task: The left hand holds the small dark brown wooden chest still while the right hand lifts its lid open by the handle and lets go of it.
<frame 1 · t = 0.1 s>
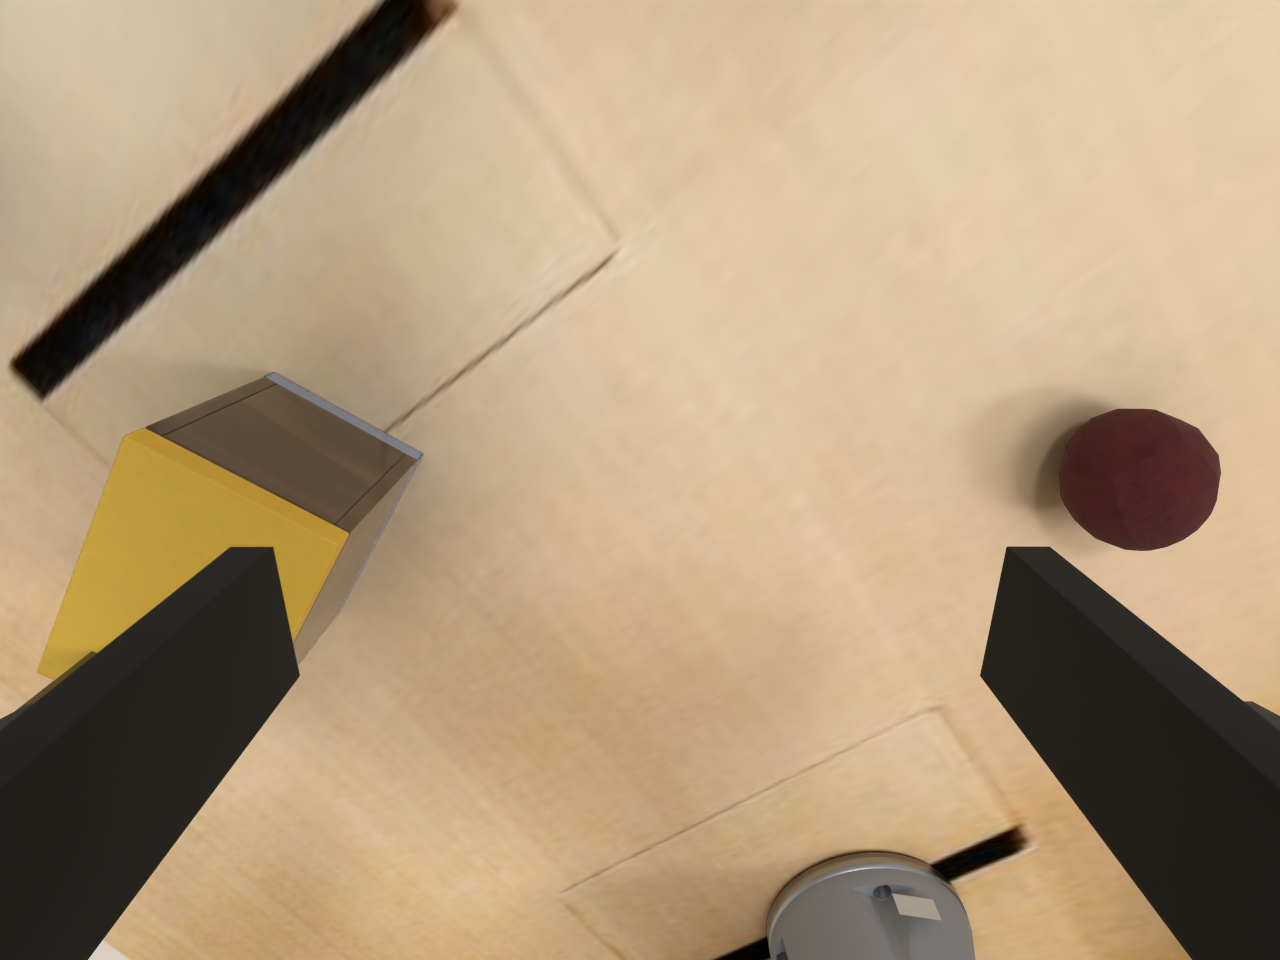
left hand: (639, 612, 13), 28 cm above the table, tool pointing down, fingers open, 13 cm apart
lid: (135, 650, 28), point 15 cm above the table, hinge at 0.0°
chest: (308, 500, 42), on the table
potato: (1094, 455, 41), on the table
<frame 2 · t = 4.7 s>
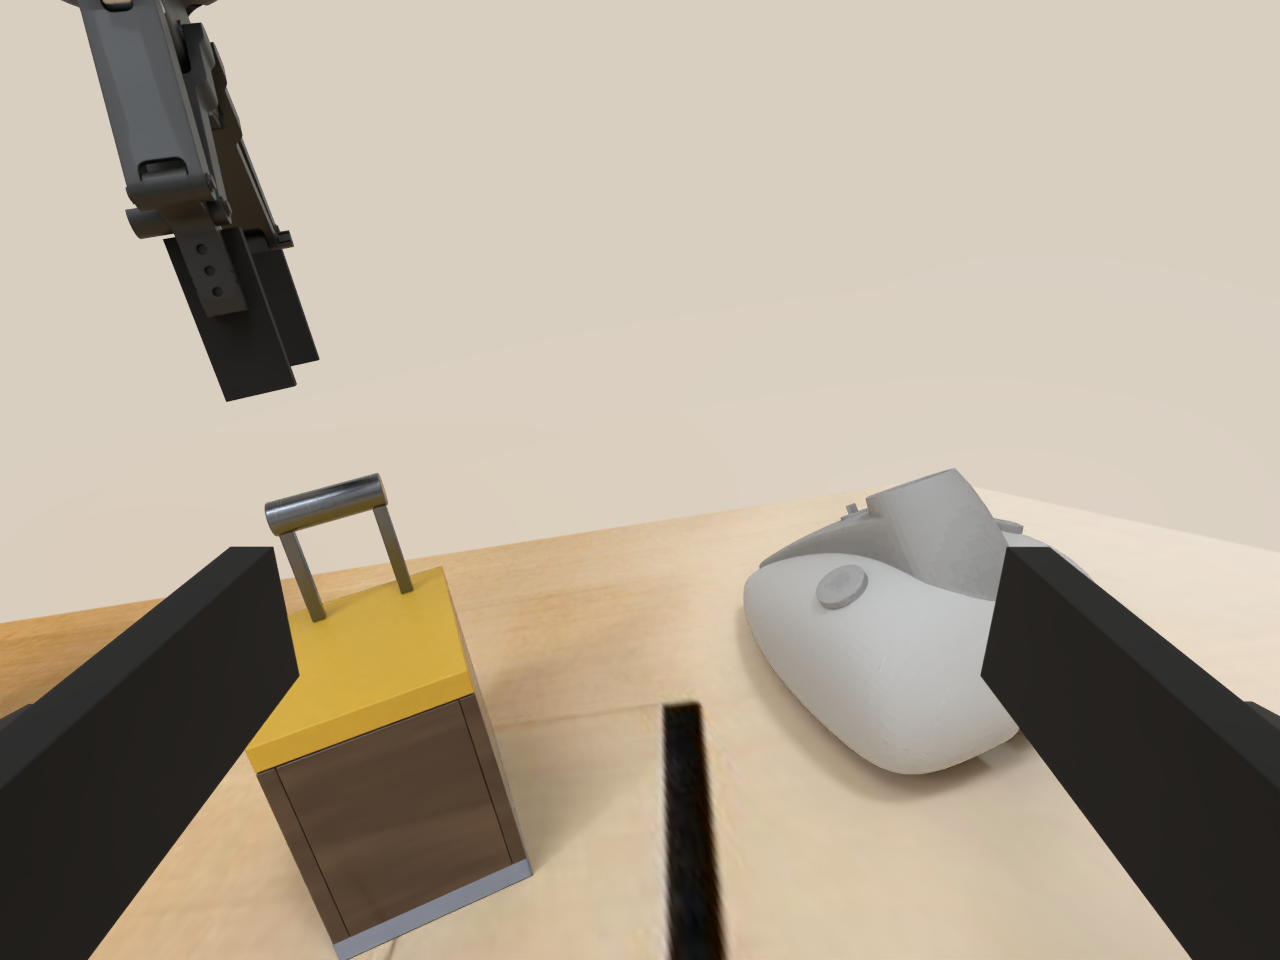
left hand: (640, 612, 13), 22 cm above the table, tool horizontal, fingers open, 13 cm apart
projector: (879, 668, 45), on the table
lid: (344, 588, 35), point 15 cm above the table, hinge at 0.0°
chest: (430, 826, 39), on the table
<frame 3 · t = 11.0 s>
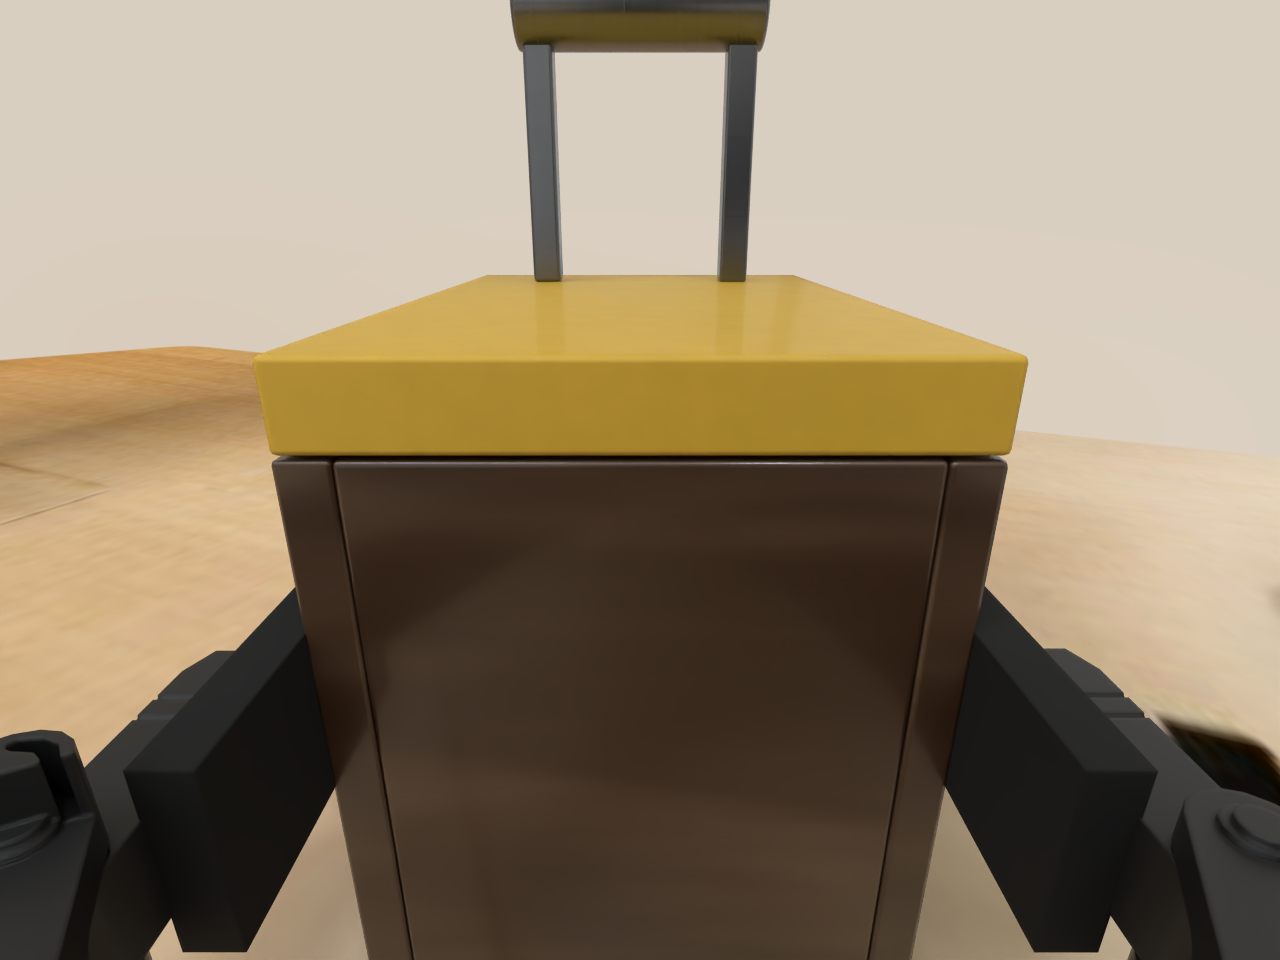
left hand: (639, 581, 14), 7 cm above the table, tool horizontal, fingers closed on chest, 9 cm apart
lid: (640, 140, 13), point 15 cm above the table, hinge at 0.0°
chest: (640, 773, 18), on the table, touching left hand
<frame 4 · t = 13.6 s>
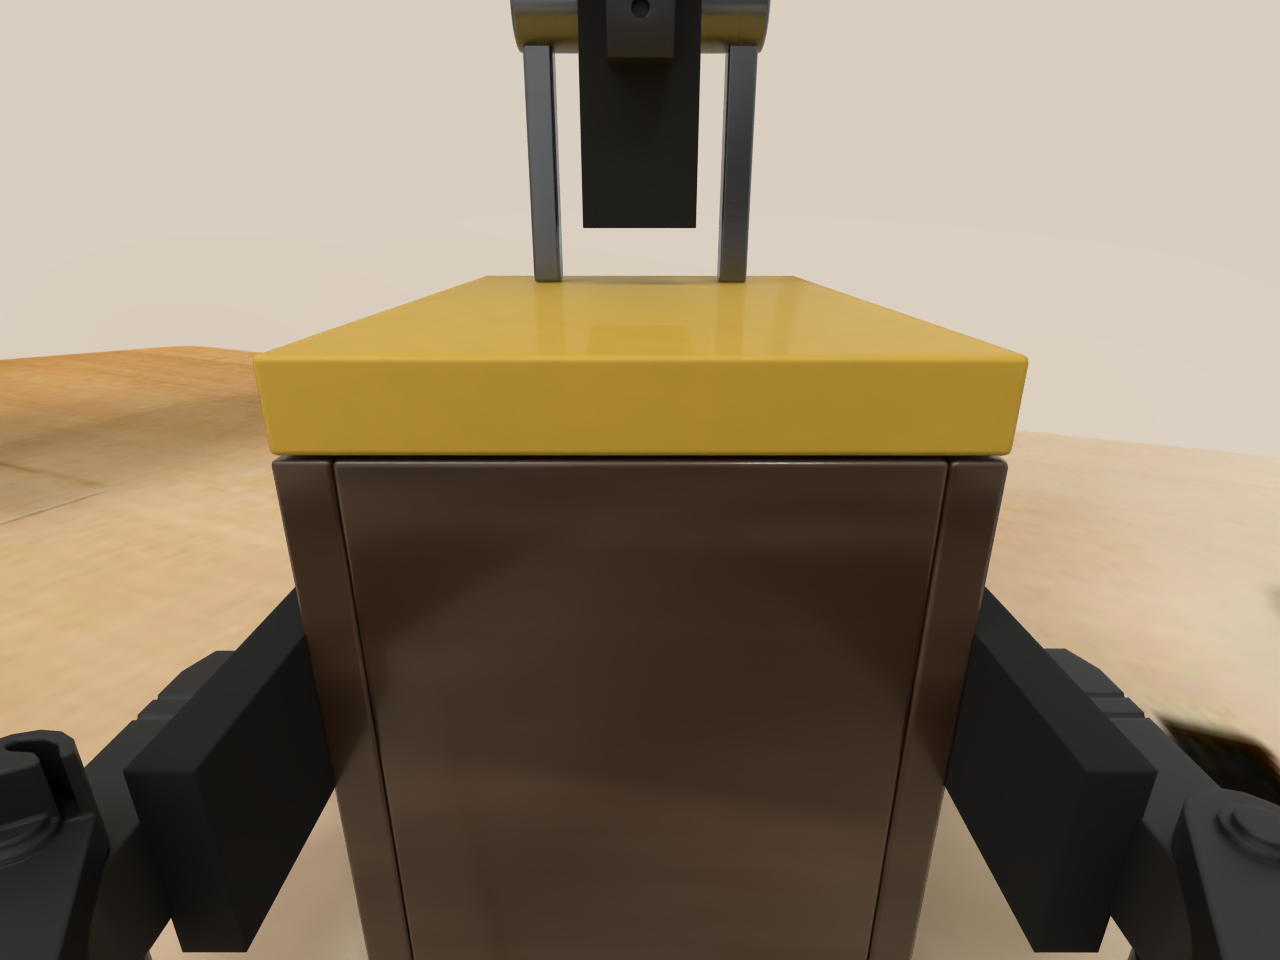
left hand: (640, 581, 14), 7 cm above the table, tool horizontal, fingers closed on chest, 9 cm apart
lid: (640, 140, 13), point 15 cm above the table, hinge at -0.1°, touching right hand
chest: (640, 773, 18), on the table, touching left hand
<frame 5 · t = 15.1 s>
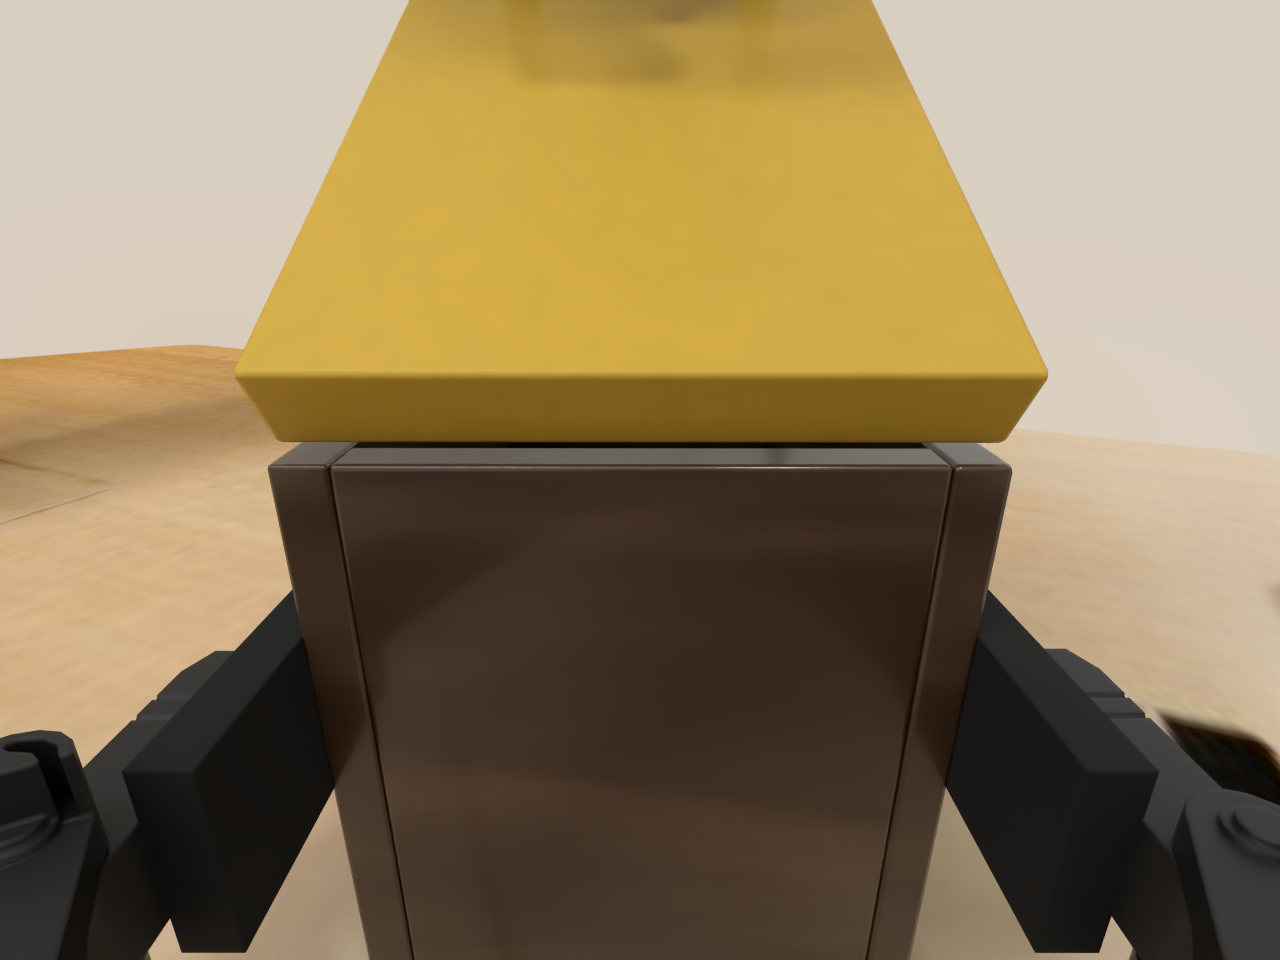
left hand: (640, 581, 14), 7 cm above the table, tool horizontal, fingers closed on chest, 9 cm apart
chest: (639, 768, 19), on the table, touching left hand
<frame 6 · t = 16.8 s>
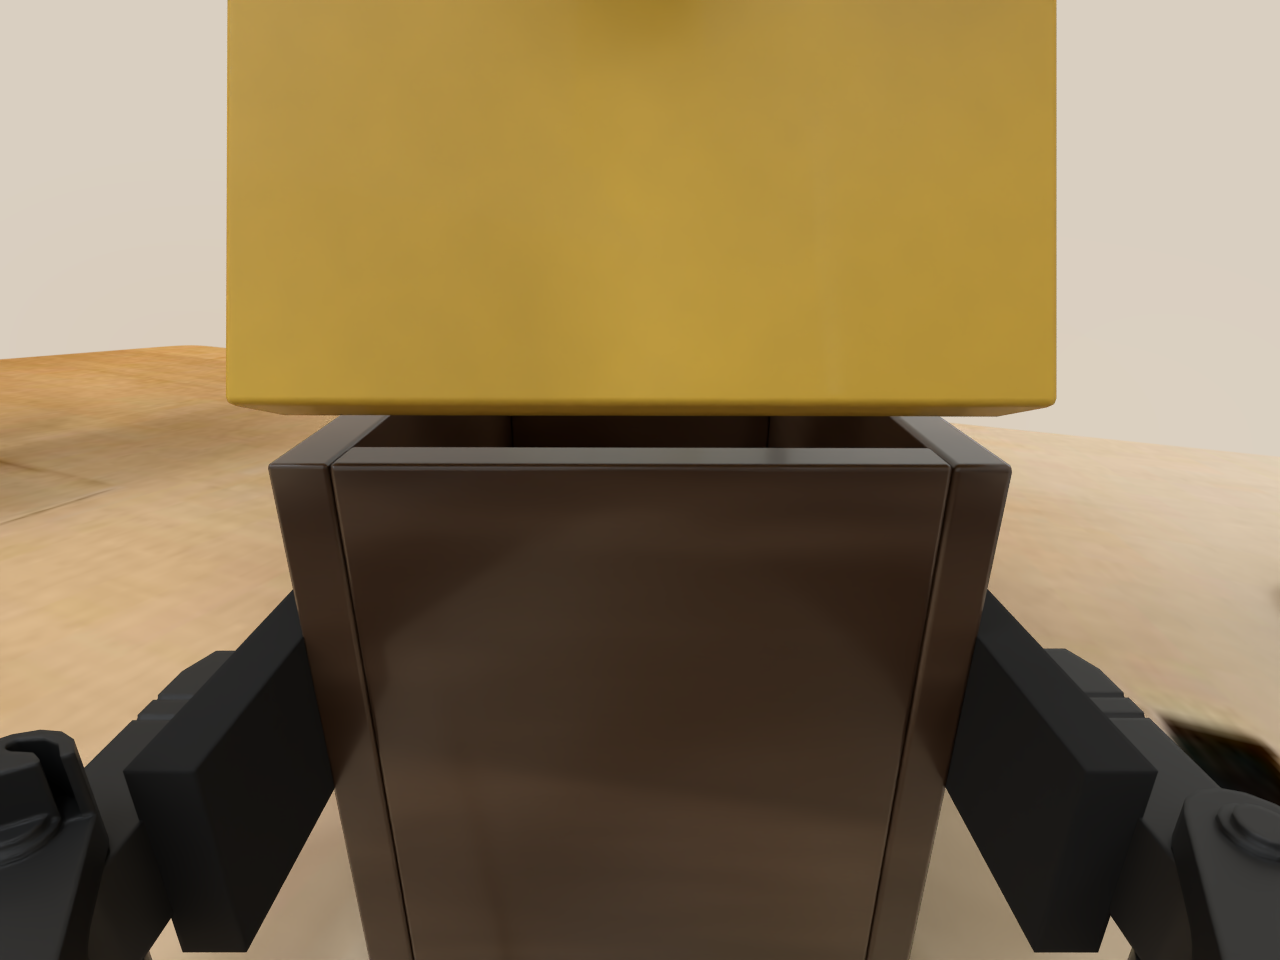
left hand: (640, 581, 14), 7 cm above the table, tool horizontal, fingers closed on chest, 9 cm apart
chest: (639, 768, 19), on the table, touching left hand
when the left hand's fingers open (7 cm above the table, at t = 20.6 s): chest stays where it is, on the table.
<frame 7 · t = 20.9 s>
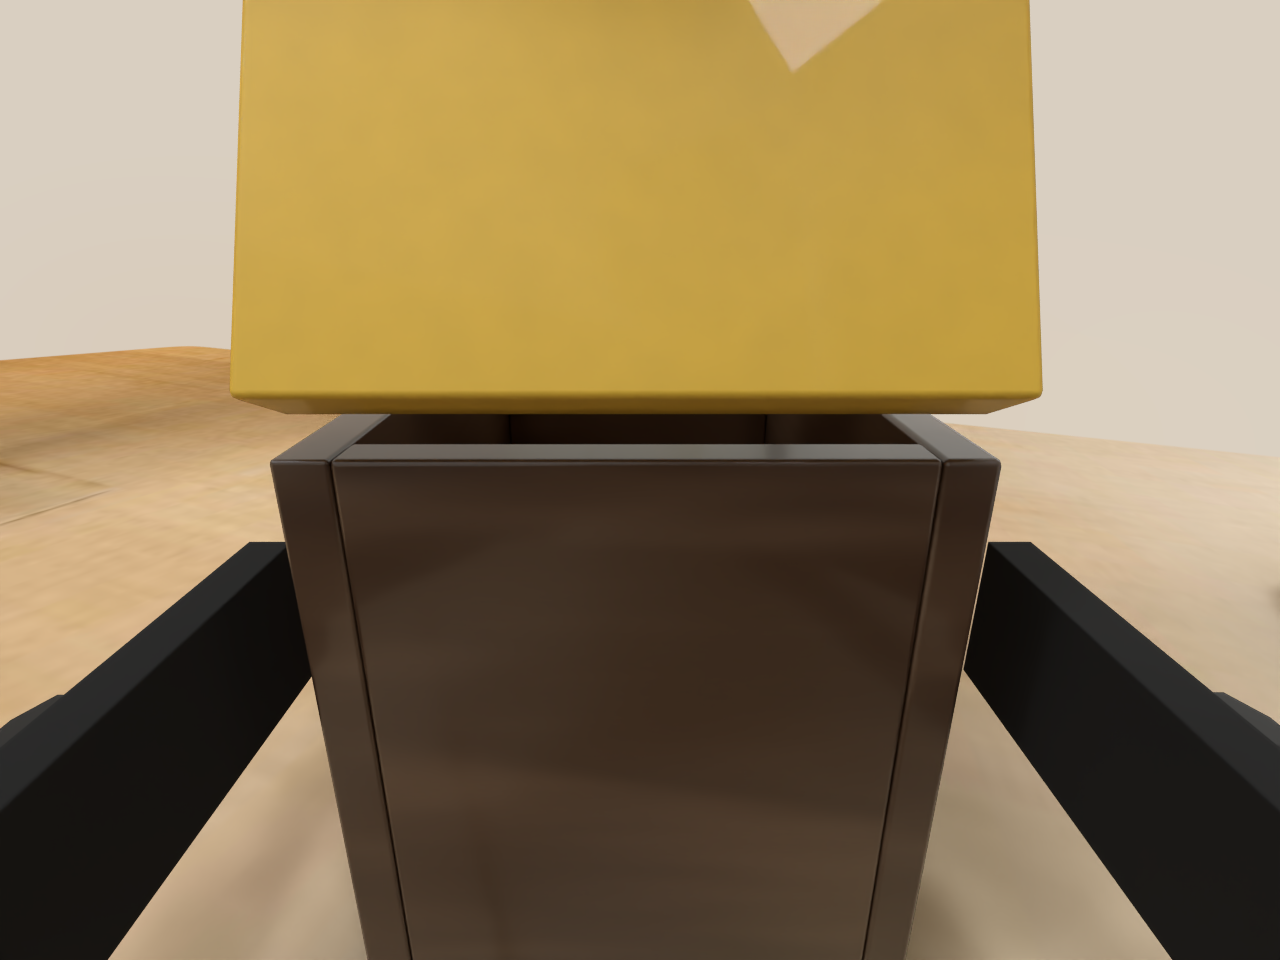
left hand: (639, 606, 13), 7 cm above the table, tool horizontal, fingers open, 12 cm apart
chest: (637, 771, 19), on the table
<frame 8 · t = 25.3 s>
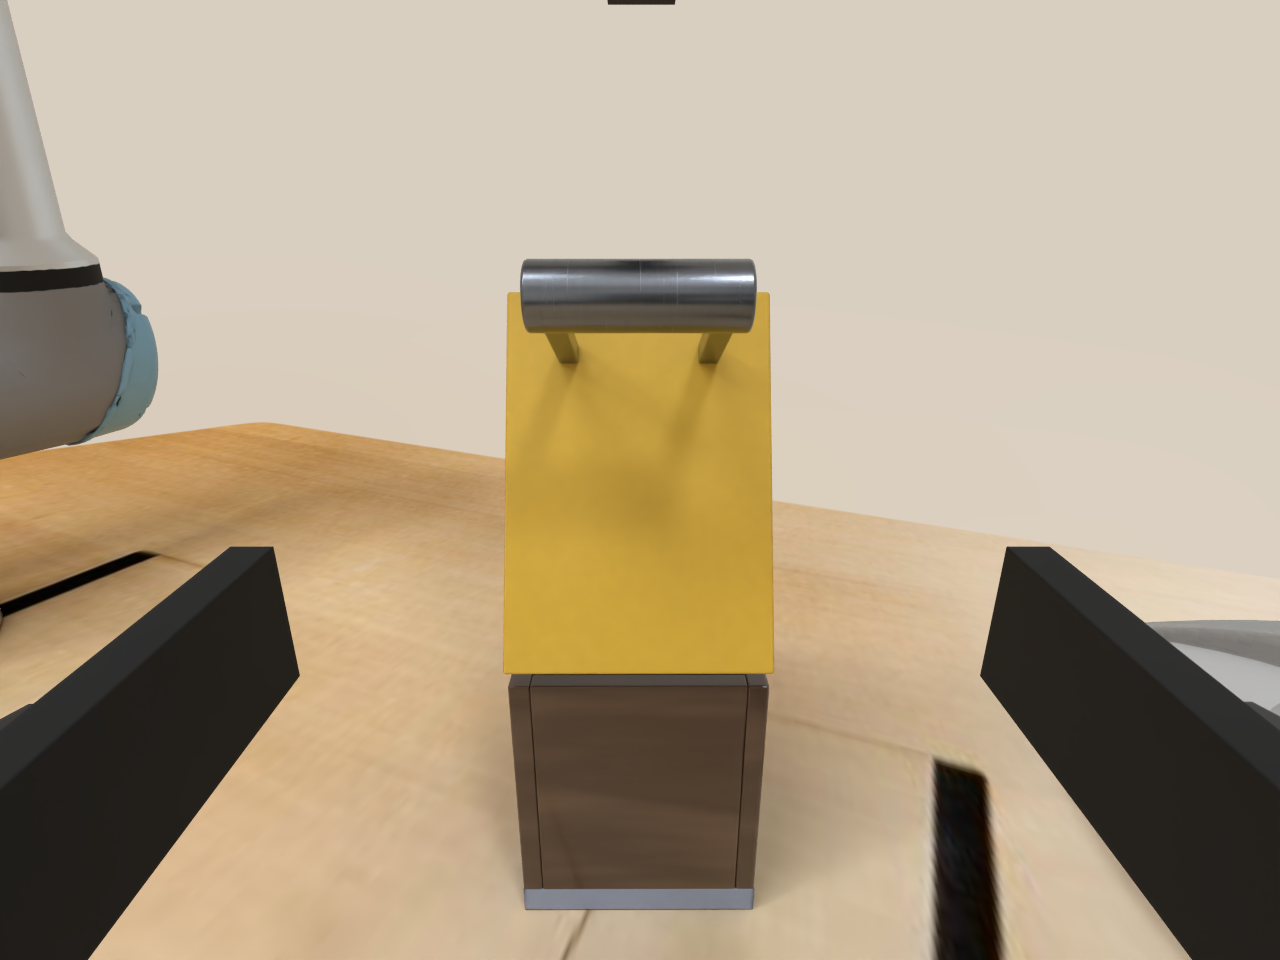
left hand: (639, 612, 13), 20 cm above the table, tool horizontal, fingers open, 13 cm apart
projector: (1268, 835, 32), on the table
lid: (638, 474, 21), point 19 cm above the table, hinge at 66.2°
chest: (638, 790, 34), on the table
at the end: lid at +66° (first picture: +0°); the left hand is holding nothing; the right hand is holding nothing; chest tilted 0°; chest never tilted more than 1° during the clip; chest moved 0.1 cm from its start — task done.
